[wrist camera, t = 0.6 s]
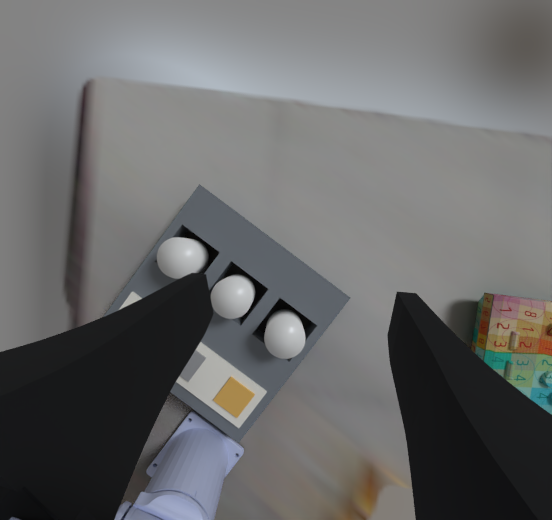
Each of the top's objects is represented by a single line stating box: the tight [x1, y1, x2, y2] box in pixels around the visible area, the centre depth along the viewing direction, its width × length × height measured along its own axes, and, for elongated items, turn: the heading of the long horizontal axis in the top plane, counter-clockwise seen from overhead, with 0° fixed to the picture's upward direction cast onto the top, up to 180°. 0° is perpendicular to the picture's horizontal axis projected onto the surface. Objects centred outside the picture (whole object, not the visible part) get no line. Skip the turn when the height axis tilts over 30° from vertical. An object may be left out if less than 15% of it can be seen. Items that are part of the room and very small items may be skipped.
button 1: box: [264, 309, 306, 359], centre depth 28 cm, size 4×4×4 cm
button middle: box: [211, 274, 256, 319], centre depth 28 cm, size 4×4×4 cm
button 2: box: [157, 237, 209, 279], centre depth 28 cm, size 4×4×4 cm
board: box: [104, 184, 350, 443], centre depth 31 cm, size 20×20×4 cm
